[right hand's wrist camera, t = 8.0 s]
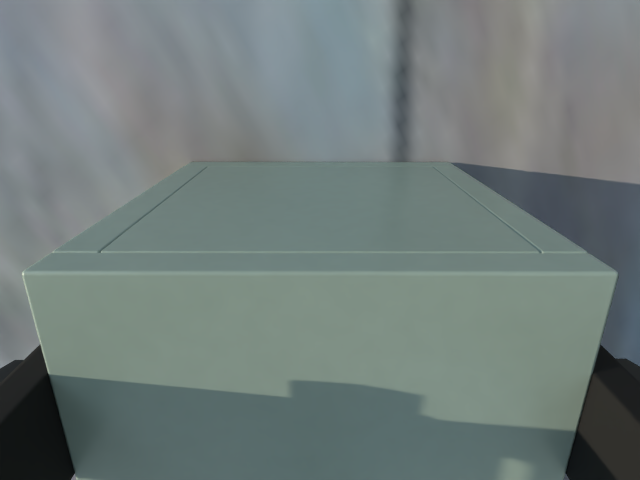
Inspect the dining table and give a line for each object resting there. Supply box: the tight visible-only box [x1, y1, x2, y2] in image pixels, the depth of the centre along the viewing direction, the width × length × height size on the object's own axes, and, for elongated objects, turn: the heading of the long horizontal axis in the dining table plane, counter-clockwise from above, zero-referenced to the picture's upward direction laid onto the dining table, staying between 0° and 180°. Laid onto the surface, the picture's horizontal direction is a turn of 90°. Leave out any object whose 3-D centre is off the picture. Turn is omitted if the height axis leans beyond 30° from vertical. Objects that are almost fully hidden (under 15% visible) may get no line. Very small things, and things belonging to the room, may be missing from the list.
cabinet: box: [22, 162, 619, 480], centre depth 17 cm, size 21×11×11 cm, turn 0°
